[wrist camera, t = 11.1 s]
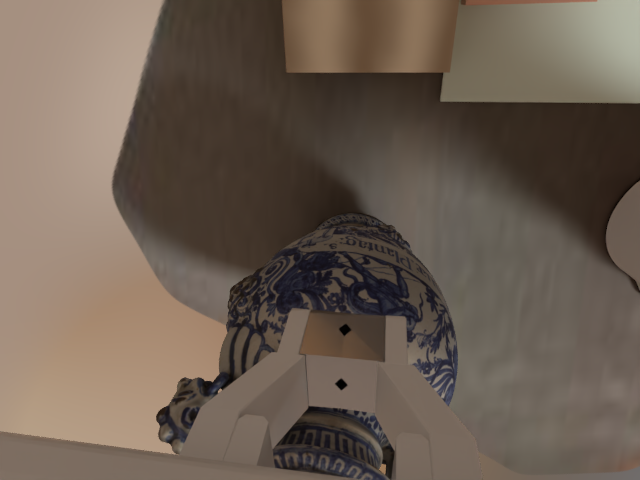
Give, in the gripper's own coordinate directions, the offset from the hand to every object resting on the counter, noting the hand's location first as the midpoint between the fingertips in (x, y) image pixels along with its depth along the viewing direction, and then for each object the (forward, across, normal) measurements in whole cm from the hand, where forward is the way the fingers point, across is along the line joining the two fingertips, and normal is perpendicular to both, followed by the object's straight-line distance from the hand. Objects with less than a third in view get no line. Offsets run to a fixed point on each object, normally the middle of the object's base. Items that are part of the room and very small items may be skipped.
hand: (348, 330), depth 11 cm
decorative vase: (+31, -2, -18) cm, 36 cm away
